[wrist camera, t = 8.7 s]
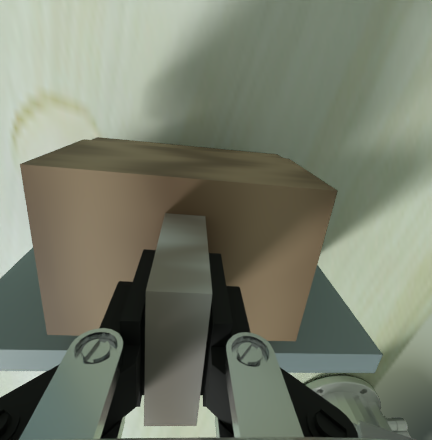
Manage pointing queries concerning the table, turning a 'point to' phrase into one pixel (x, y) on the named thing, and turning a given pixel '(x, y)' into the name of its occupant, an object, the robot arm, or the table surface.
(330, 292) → the wall board
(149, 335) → the walnut cabinet
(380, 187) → the table surface
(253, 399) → the robot arm
